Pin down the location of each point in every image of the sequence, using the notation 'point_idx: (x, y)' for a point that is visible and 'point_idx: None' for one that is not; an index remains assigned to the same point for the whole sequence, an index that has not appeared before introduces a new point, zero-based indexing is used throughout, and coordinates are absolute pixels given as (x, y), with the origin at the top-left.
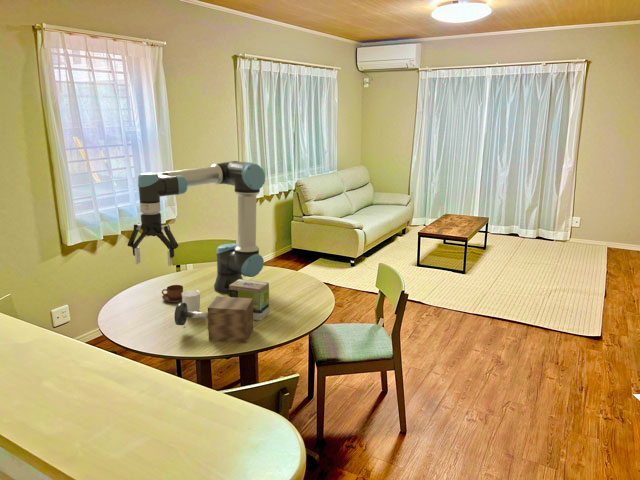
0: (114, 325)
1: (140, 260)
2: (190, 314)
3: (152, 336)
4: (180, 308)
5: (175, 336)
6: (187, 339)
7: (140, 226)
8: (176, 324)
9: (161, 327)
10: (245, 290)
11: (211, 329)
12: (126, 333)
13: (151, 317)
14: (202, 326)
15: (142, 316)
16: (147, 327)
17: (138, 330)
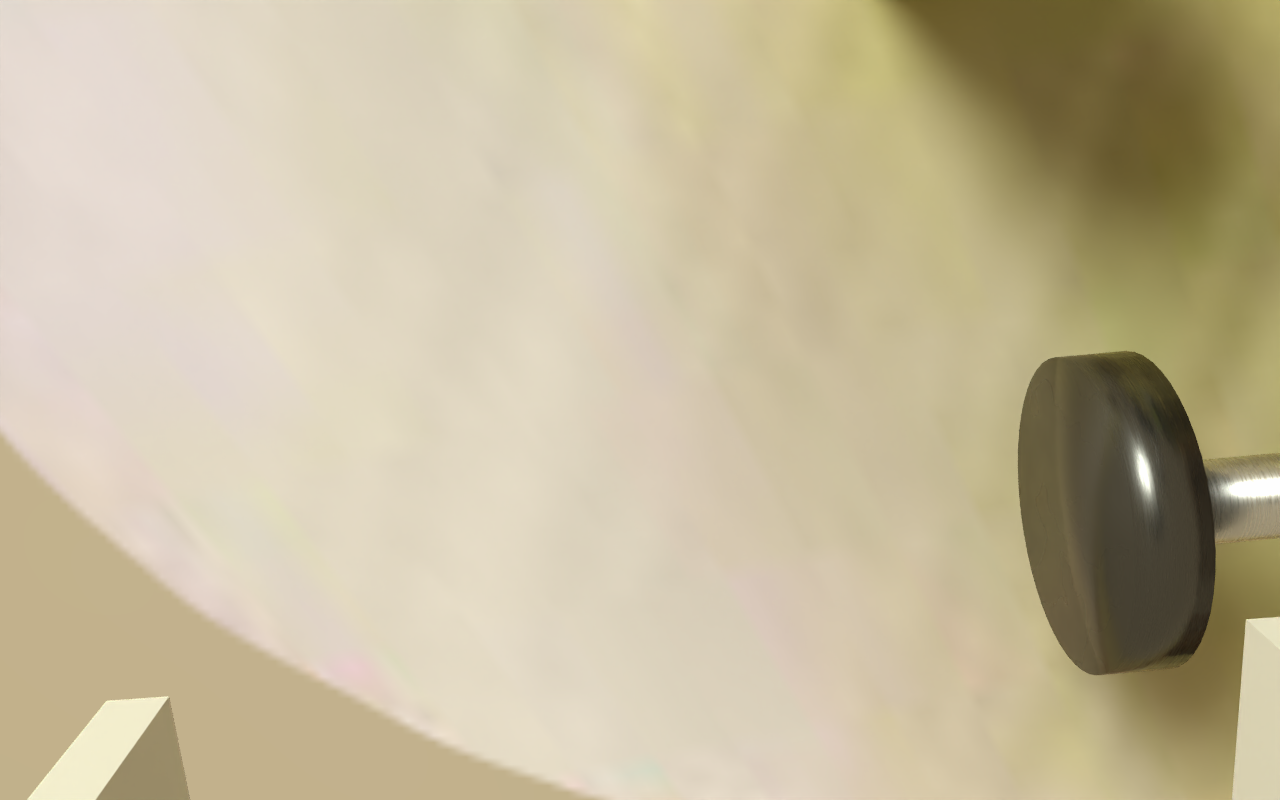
0: (157, 441)
1: (143, 730)
2: (1259, 539)
3: (734, 588)
4: (1189, 653)
5: (978, 535)
6: None
7: None
8: (1034, 570)
9: (722, 366)
10: None
11: None
12: (421, 588)
13: (450, 123)
14: (1199, 227)
15: (317, 120)
16: (562, 403)
17: (505, 495)
